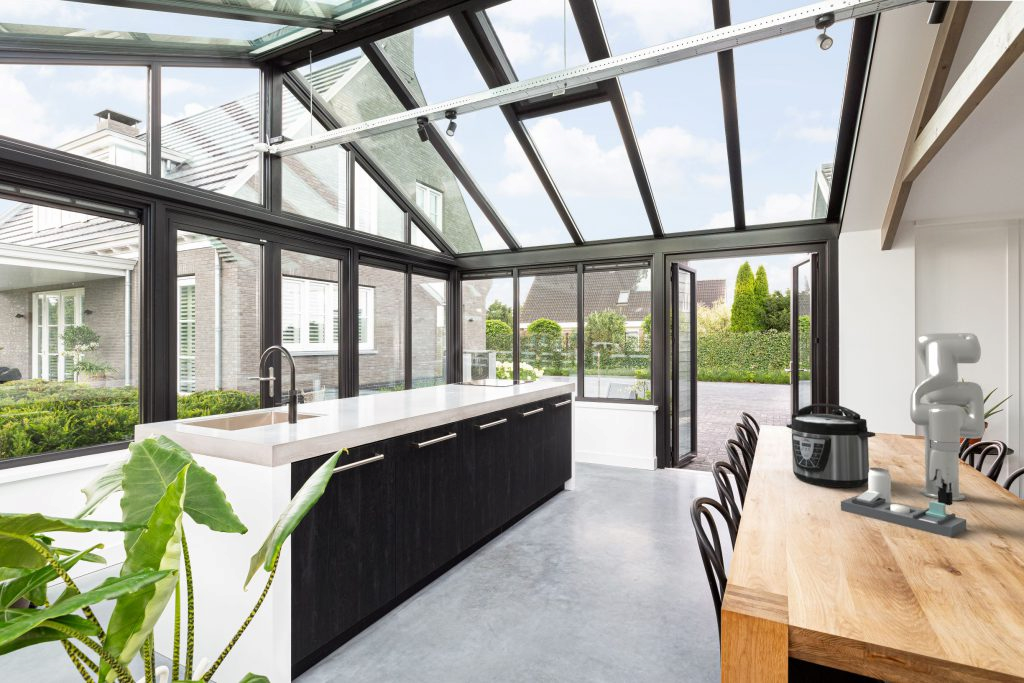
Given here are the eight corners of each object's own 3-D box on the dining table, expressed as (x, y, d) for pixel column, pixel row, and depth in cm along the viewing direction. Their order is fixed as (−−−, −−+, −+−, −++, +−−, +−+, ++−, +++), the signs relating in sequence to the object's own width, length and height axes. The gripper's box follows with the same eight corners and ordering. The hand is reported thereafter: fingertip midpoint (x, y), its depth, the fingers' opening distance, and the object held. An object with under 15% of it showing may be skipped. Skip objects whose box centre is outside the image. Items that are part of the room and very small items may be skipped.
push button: (894, 515, 170) (894, 503, 170) (912, 519, 166) (912, 507, 166) (887, 518, 167) (887, 506, 167) (905, 522, 163) (905, 510, 163)
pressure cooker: (776, 471, 228) (775, 400, 228) (841, 471, 227) (840, 399, 227) (812, 491, 198) (811, 408, 198) (888, 491, 197) (886, 408, 197)
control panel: (857, 503, 182) (857, 492, 182) (966, 529, 157) (966, 515, 157) (840, 510, 176) (840, 497, 176) (951, 537, 150) (951, 523, 150)
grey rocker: (867, 493, 178) (867, 489, 178) (880, 496, 174) (880, 492, 174) (856, 501, 174) (856, 497, 173) (870, 504, 170) (869, 500, 170)
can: (894, 506, 179) (894, 472, 179) (874, 505, 180) (873, 471, 180) (885, 500, 185) (884, 467, 185) (865, 500, 186) (864, 466, 186)
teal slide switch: (930, 512, 163) (930, 499, 163) (949, 516, 159) (949, 503, 159) (925, 514, 161) (925, 502, 161) (944, 519, 157) (944, 506, 157)
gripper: (939, 441, 171) (939, 497, 171) (920, 447, 163) (921, 505, 163) (968, 445, 164) (969, 502, 164) (950, 451, 156) (951, 511, 156)
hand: (945, 503), depth 163 cm, fingers closed
